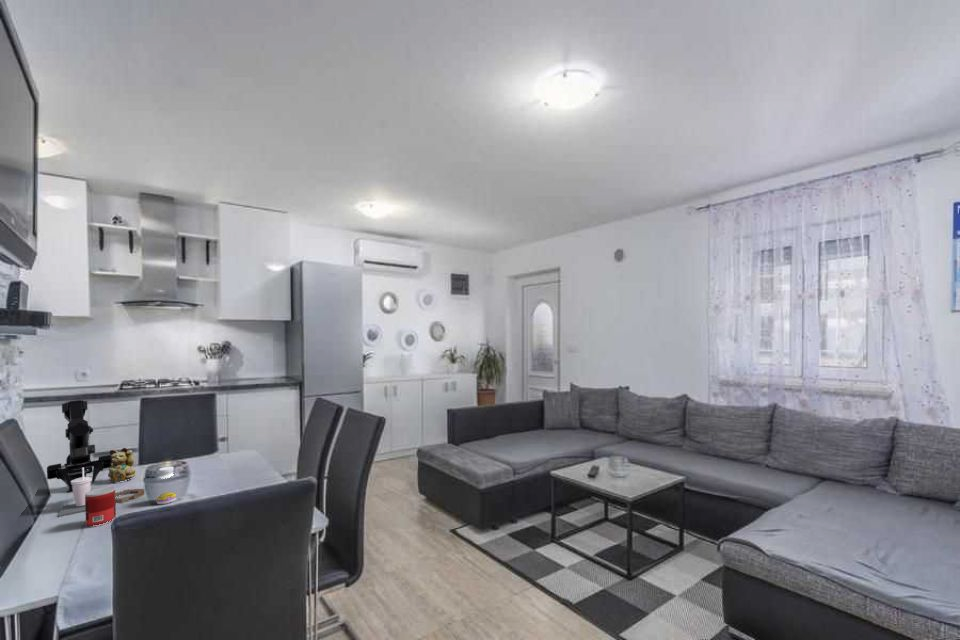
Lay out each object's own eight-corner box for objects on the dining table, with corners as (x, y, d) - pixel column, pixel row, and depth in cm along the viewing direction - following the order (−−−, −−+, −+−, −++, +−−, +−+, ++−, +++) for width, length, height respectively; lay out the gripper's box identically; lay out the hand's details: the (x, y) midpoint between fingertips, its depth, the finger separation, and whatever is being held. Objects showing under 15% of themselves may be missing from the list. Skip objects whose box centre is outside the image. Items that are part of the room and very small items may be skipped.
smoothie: (93, 504, 168) (92, 467, 168) (70, 509, 163) (69, 472, 163) (93, 499, 172) (92, 464, 173) (71, 504, 168) (69, 468, 168)
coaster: (63, 507, 169) (63, 505, 169) (103, 498, 176) (103, 497, 176) (58, 517, 159) (58, 515, 159) (101, 507, 167) (101, 506, 167)
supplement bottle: (166, 505, 166) (165, 471, 166) (151, 504, 167) (150, 470, 168) (181, 498, 173) (180, 465, 173) (167, 497, 174) (166, 465, 174)
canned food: (121, 518, 155) (120, 487, 156) (95, 528, 148) (94, 495, 148) (106, 516, 158) (106, 485, 158) (80, 526, 150) (79, 494, 151)
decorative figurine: (106, 485, 193) (105, 451, 193) (110, 480, 200) (109, 447, 200) (134, 480, 198) (133, 447, 198) (137, 475, 205) (136, 443, 205)
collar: (107, 495, 179) (107, 493, 179) (144, 488, 187) (144, 485, 187) (105, 506, 168) (105, 503, 168) (144, 498, 175) (144, 495, 175)
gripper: (46, 444, 164) (46, 480, 156) (110, 434, 178) (114, 467, 170) (47, 461, 170) (47, 496, 162) (109, 450, 183) (112, 482, 175)
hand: (81, 485), depth 167 cm, fingers closed on smoothie, 6 cm apart
